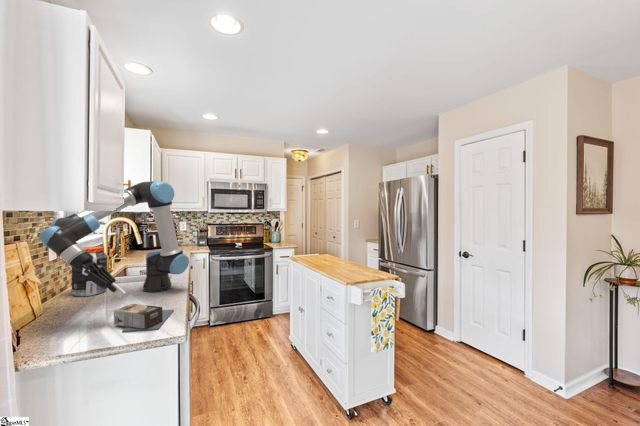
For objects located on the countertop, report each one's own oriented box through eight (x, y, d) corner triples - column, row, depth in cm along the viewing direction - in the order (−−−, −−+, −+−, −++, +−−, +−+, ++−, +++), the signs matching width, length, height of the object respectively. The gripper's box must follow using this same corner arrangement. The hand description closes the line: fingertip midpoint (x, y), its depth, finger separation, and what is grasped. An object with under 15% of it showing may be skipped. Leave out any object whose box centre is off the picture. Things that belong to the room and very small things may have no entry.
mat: (143, 312, 134) (143, 311, 134) (173, 310, 137) (173, 309, 137) (122, 332, 113) (122, 330, 113) (158, 329, 116) (158, 328, 116)
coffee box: (132, 302, 127) (163, 306, 123) (132, 317, 127) (163, 321, 123) (113, 310, 118) (145, 313, 114) (113, 325, 118) (145, 329, 114)
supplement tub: (102, 295, 158) (102, 248, 158) (66, 298, 153) (66, 250, 152) (110, 288, 173) (110, 245, 173) (78, 290, 167) (78, 246, 167)
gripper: (79, 261, 124) (122, 297, 128) (59, 267, 112) (108, 307, 116) (93, 248, 125) (136, 284, 129) (75, 253, 113) (122, 293, 117)
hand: (122, 295), depth 122 cm, fingers closed
